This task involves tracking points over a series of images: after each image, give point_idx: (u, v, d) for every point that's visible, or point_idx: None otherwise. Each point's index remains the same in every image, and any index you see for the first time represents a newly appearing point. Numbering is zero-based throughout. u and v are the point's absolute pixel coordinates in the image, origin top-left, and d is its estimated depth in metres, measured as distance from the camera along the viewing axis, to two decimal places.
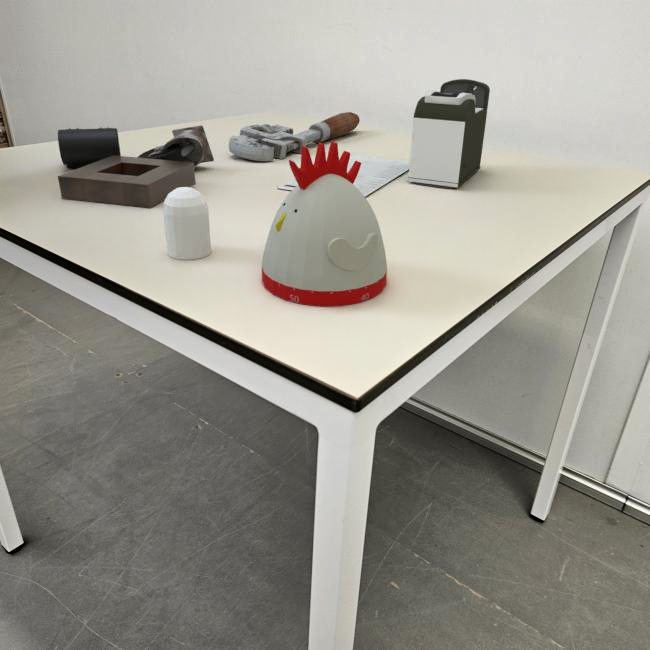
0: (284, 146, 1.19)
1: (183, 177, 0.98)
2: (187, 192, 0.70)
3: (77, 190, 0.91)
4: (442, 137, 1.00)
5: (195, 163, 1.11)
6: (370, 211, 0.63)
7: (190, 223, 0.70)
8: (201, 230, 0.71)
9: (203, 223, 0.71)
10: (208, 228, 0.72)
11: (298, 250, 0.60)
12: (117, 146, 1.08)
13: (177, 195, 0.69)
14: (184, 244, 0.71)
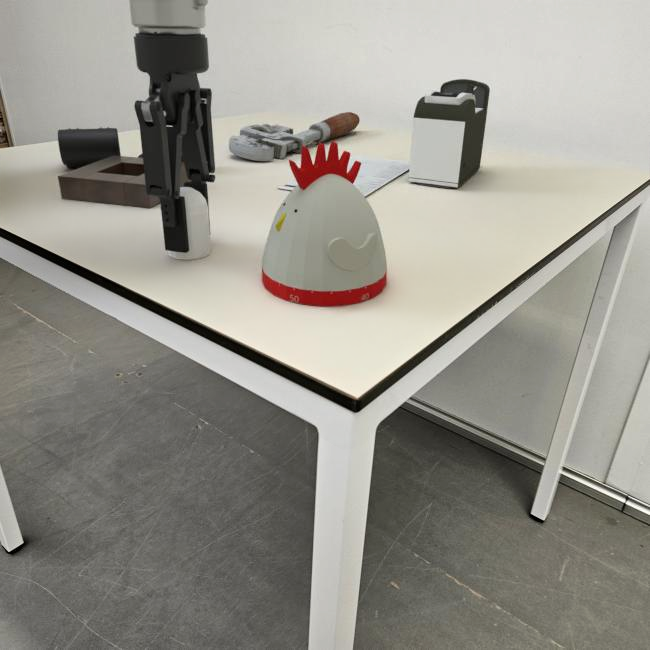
0: (284, 146, 1.19)
1: (183, 177, 0.98)
2: (187, 192, 0.70)
3: (77, 190, 0.91)
4: (442, 136, 1.00)
5: None
6: (370, 211, 0.63)
7: (190, 223, 0.70)
8: (201, 230, 0.71)
9: (203, 223, 0.71)
10: (208, 228, 0.72)
11: (298, 250, 0.60)
12: (117, 146, 1.08)
13: None
14: None
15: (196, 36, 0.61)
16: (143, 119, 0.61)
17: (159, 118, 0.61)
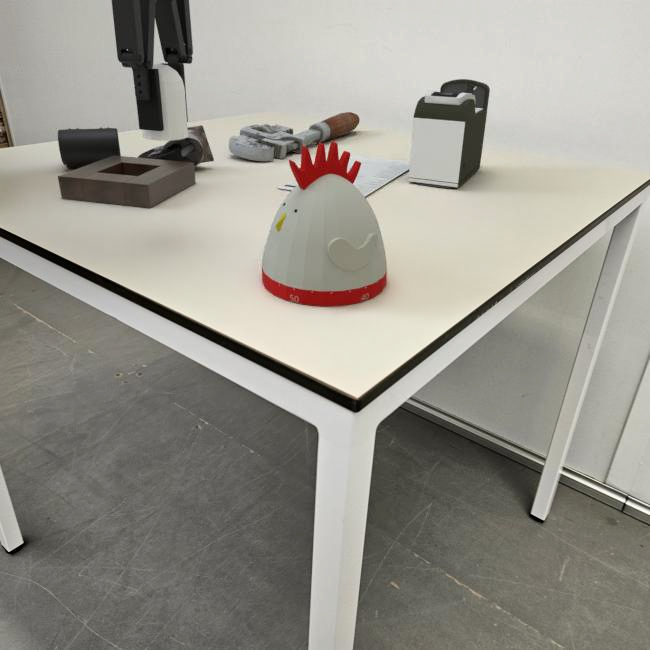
0: (284, 146, 1.19)
1: (183, 177, 0.98)
2: (162, 68, 0.68)
3: (77, 190, 0.91)
4: (442, 136, 1.00)
5: (195, 163, 1.11)
6: (370, 211, 0.63)
7: (165, 99, 0.68)
8: (177, 109, 0.69)
9: (179, 102, 0.69)
10: (184, 109, 0.70)
11: (298, 250, 0.60)
12: (117, 146, 1.08)
13: None
14: None
15: None
16: None
17: None
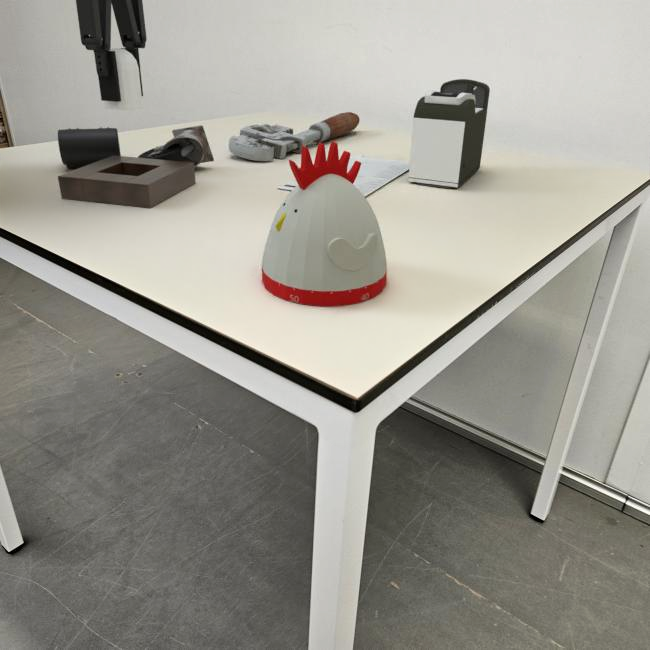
0: (284, 146, 1.19)
1: (183, 177, 0.98)
2: (118, 50, 0.85)
3: (77, 190, 0.91)
4: (442, 136, 1.00)
5: (195, 163, 1.11)
6: (370, 211, 0.63)
7: (121, 76, 0.85)
8: (132, 84, 0.86)
9: (133, 78, 0.86)
10: (138, 84, 0.87)
11: (298, 250, 0.60)
12: (117, 146, 1.08)
13: None
14: None
15: None
16: None
17: None
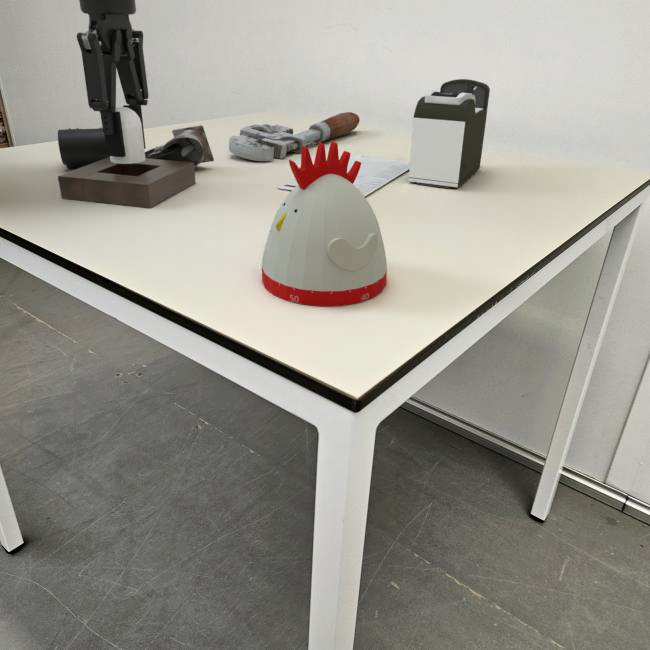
0: (284, 146, 1.19)
1: (183, 177, 0.98)
2: (123, 110, 0.91)
3: (77, 190, 0.91)
4: (442, 136, 1.00)
5: (195, 163, 1.11)
6: (370, 211, 0.63)
7: (125, 133, 0.91)
8: (135, 140, 0.92)
9: (136, 135, 0.92)
10: (141, 140, 0.94)
11: (298, 250, 0.60)
12: None
13: None
14: None
15: None
16: (83, 47, 0.82)
17: (95, 46, 0.82)
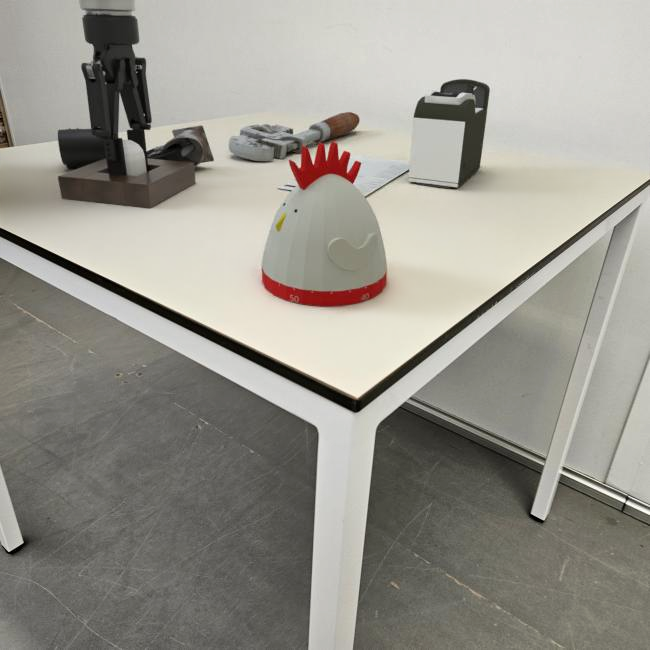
0: (284, 146, 1.19)
1: (183, 177, 0.98)
2: (127, 143, 0.93)
3: (77, 190, 0.91)
4: (442, 136, 1.00)
5: (195, 163, 1.11)
6: (370, 211, 0.63)
7: (129, 166, 0.93)
8: (139, 172, 0.95)
9: (140, 167, 0.95)
10: (145, 171, 0.96)
11: (298, 250, 0.60)
12: None
13: None
14: None
15: (127, 17, 0.84)
16: (88, 76, 0.84)
17: (99, 76, 0.84)
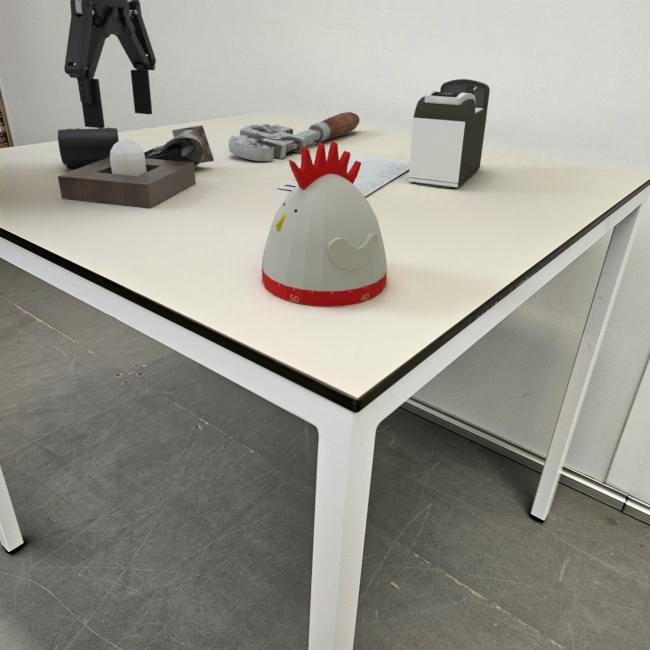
0: (284, 146, 1.19)
1: (183, 177, 0.98)
2: (127, 143, 0.93)
3: (77, 190, 0.91)
4: (442, 136, 1.00)
5: (195, 163, 1.11)
6: (370, 211, 0.63)
7: (129, 166, 0.93)
8: (139, 172, 0.95)
9: (140, 167, 0.95)
10: (145, 171, 0.96)
11: (298, 250, 0.60)
12: None
13: (119, 145, 0.93)
14: None
15: None
16: (75, 10, 0.80)
17: (87, 10, 0.80)
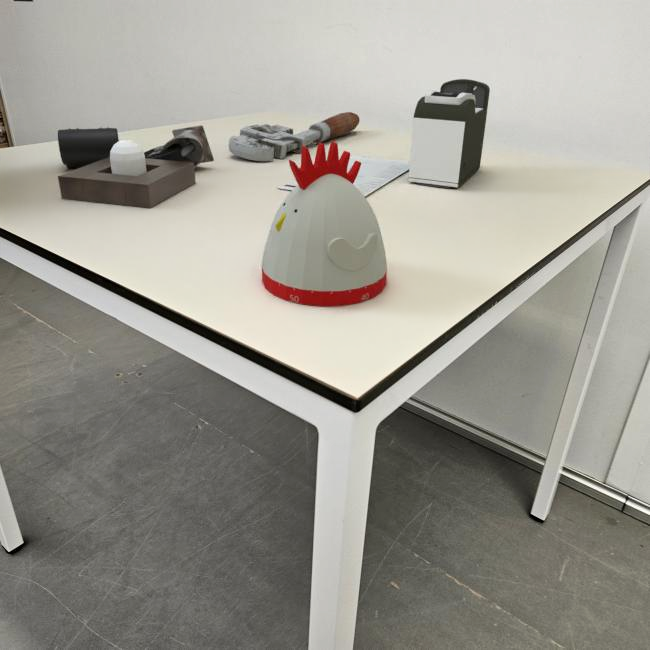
0: (284, 146, 1.19)
1: (183, 177, 0.98)
2: (127, 143, 0.93)
3: (77, 190, 0.91)
4: (442, 136, 1.00)
5: (195, 163, 1.11)
6: (370, 211, 0.63)
7: (129, 166, 0.93)
8: (139, 172, 0.95)
9: (140, 167, 0.95)
10: (145, 171, 0.96)
11: (298, 250, 0.60)
12: None
13: (119, 145, 0.93)
14: None
15: None
16: None
17: None
